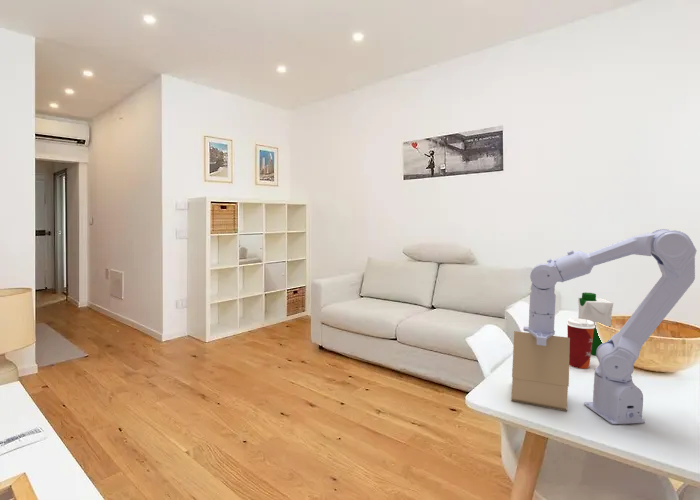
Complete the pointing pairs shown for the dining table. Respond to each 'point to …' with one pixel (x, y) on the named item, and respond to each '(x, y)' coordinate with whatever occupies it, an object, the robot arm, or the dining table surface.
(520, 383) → the carton
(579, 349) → the paper cup
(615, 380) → the robot arm
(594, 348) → the milk carton
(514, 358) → the carton lid
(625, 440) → the dining table surface
